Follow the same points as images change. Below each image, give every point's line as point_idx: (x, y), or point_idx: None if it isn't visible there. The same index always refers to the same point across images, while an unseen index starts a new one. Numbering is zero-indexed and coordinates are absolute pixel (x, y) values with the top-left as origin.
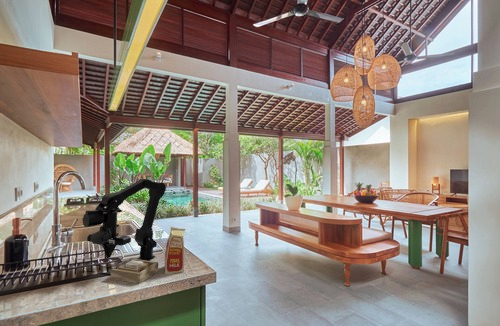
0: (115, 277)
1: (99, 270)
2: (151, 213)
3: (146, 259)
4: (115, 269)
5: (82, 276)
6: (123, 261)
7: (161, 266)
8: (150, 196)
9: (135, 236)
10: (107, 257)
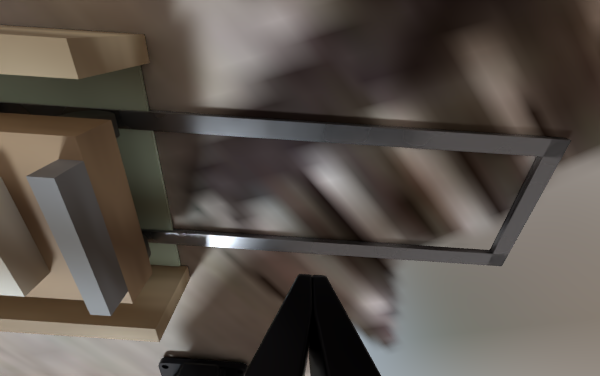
0: (65, 31)
1: (395, 179)
2: None
3: (178, 368)
4: (6, 56)
5: (495, 6)
6: (73, 250)
7: None
8: None
9: None
10: (313, 277)
